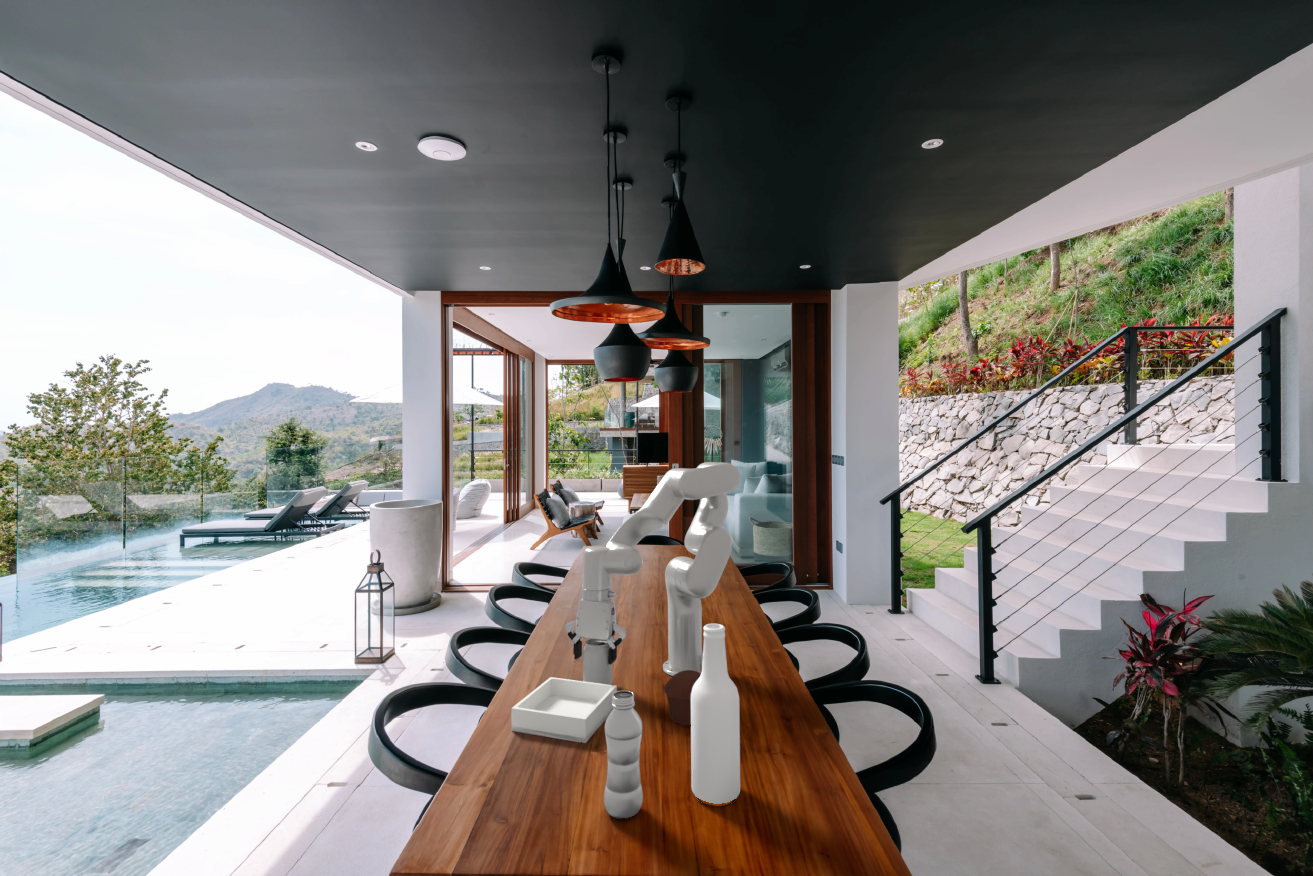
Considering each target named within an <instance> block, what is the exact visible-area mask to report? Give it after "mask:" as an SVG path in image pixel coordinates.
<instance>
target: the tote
mask: <svg viewBox="0 0 1313 876" xmlns="http://www.w3.org/2000/svg"><path fill="white" fill-rule="evenodd" d="M617 691H618V685H614V684H612V685H608V684H600V683H593V682H585V681H583V680H577V679H575V680H574V679H569V678H563V677H562V678H559V677H551V676H550V677H549V678H547V679H546V680H545V681H544V682H542V683H541V684H540V685H538V686H537V687H536V688H535V689H534V690H532V691H531V692H530V693H528V694H527V695H526V696H525V697H523V698H522V699H521V700H520V701H519V702H517V703H515V705H513V706H512V707H511V709H510V710H511V713H510V714H511V715H510V716H511V726H510V727H511V732H516V733H522V734H527V735H534V736H540V737H547V738H552V739H559V740H562V741H569V742H570V741H571V742H575V743H581V742H582V743H583V744H587V742H588V741H589V740H590V739H591V737H592V736H593V735H594V734H595V732H596V731H598V729H599V728H600V727H601V726H602V725H603V723H604V722H606V720H607V718H608V716H609V715H610V713H611V712H612V710H613V709H614V708H613V707H612V702H613V700H612V696H613V693H615V692H617ZM582 743H581V744H582Z"/></svg>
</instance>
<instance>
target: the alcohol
mask: <svg viewBox="0 0 1313 876" xmlns="http://www.w3.org/2000/svg"><path fill="white" fill-rule="evenodd" d="M702 627H703V628H702V629H703V632H702V633H703V634H702V636H703V646H702V652H703V661H702V672H701V675H700V677H699V678H698V680H697V681H696V682H695V684H694V685H693V688H692V692H691V726H690V754H691V755H690V758H691V759H690V762H691V764H690V766H691V767H690V768H691V771H690V774H691V782H690V783H691V785H690V786H691V791H692V793H693V795H694V796H695V798H696V797H697V798H699V799H701V800H703V801H706V802H709V803H713V804H722V803H727V802H730V801H732V800H734V799H736V800H737V798H738V797H739V796H740V792H741V745H740V744H741V739H740V738H741V736H740V735H741V734H740V731H741V726H740V722H741V721H740V695H739V691H738V687H737V685H736V684H735V683H734V681H733V680H732V679H731V678H730V676H729V671H728V664H727V651H726V640H725V639H726V632H725V631H726V627H725V626H724V625H723V624H720V623H707V624H705V625H704V626H702ZM697 798H696V799H697Z"/></svg>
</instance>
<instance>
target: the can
mask: <svg viewBox="0 0 1313 876" xmlns="http://www.w3.org/2000/svg"><path fill="white" fill-rule="evenodd" d="M609 649H610V646H609V644H608V643H607V641H603V640H595V639H588V640H586V642H585V645H584V646H583V647H582V656H583V657H582V659H583V660H582V662H583V664H582V666H583V667H582V669H583V670H582V671H583V675H582V676H583V677H582V678H583V680H582V681H585V682H593V683H600V684H608V685H613V663H612V664H608V655H609Z"/></svg>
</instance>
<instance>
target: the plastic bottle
mask: <svg viewBox="0 0 1313 876" xmlns="http://www.w3.org/2000/svg"><path fill="white" fill-rule="evenodd" d="M612 700H613V702H612V707H613V708H614V709H613V710H612V712H611V713H610V715H609V716H608V717H607V719H606V720H605V723H604V733H605V734H604V735H605V742H606V750H607V751H606V752H607V772H606V783H605V787H604V795H603V802H604V808H605V811H606V812H607V814H608V815H610V816H611V817H612V818H615V819H619V818H620V820H621V818H625V819H630V818H632V816H633V817H634V816H636V815H637V813H639V811H640V809H641V808H642V804H643V800H644V794H643V788H642V787H643V786H642V782H641V772H640V770H641V769H640V757H641V756H640V755H641V754H640V751H641V744H642V743H641V742H642V736H643V730H644V729H643V727H644V725H643V721H642V718H641V716H640V715H639V714H638V711H636V710H635V708H634V707H635V705H636V703H635V694H634V692H633V691H630V690H617V692H615V693H613V696H612ZM635 814H636V815H635ZM629 817H630V818H629Z"/></svg>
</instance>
